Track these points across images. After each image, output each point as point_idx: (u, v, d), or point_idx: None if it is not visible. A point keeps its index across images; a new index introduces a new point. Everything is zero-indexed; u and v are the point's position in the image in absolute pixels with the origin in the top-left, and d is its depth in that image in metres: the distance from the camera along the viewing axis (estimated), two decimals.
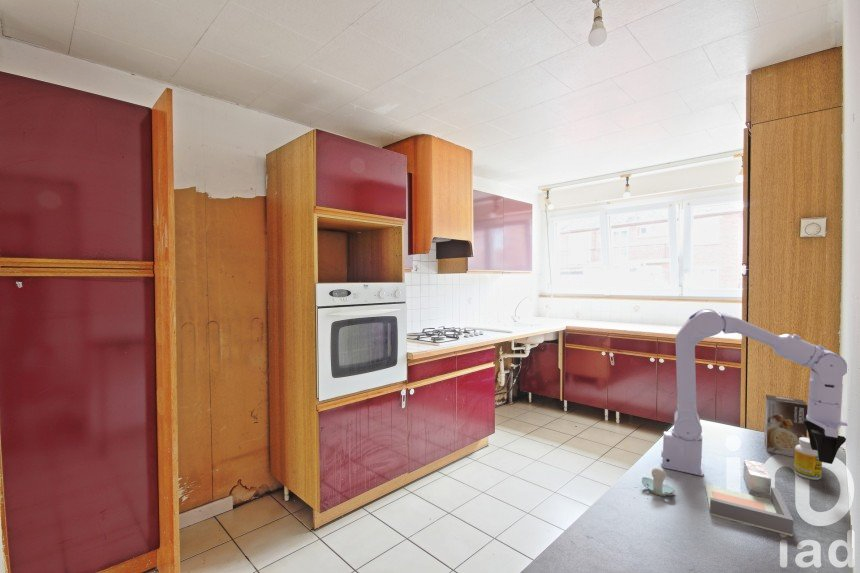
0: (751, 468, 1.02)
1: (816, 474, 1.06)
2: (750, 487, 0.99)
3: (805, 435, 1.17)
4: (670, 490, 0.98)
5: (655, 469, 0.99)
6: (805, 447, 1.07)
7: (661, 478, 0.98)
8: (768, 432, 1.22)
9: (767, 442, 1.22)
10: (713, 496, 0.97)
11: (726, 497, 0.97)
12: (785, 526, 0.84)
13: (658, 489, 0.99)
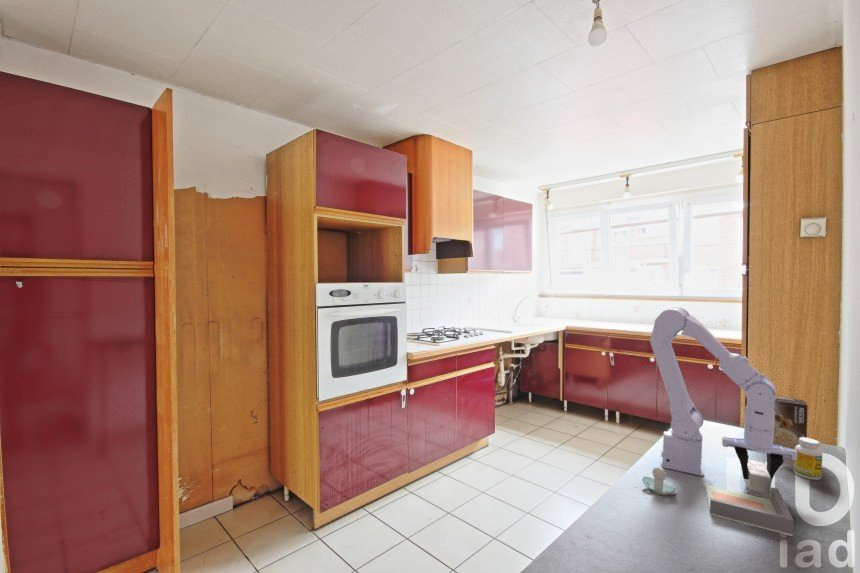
0: (751, 467, 1.02)
1: (816, 474, 1.06)
2: (750, 486, 0.99)
3: (805, 435, 1.17)
4: (671, 489, 0.98)
5: (656, 468, 0.99)
6: (805, 447, 1.07)
7: (662, 477, 0.98)
8: None
9: None
10: (713, 496, 0.97)
11: (726, 497, 0.97)
12: (785, 526, 0.84)
13: (659, 488, 0.99)
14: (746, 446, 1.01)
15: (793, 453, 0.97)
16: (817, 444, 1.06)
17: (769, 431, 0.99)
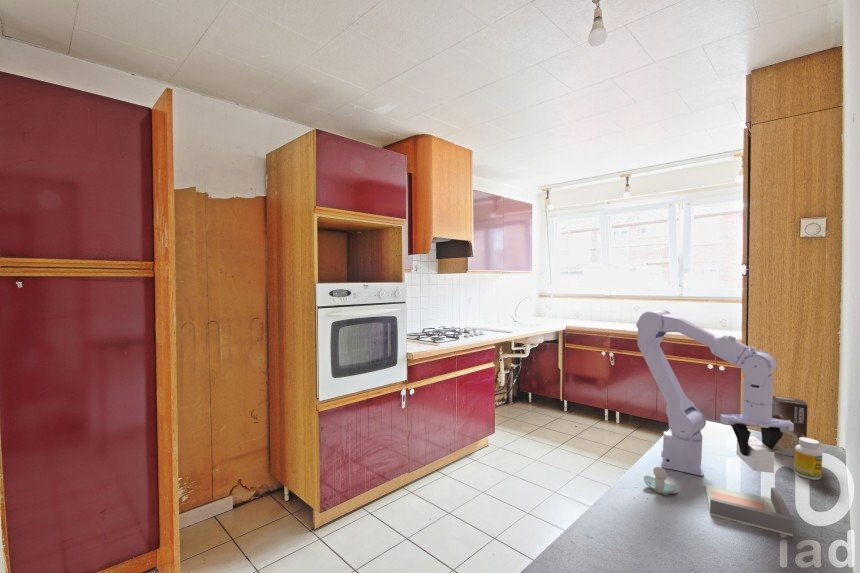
0: (750, 443, 1.00)
1: (816, 474, 1.06)
2: (754, 463, 0.96)
3: (805, 435, 1.17)
4: (672, 488, 0.98)
5: (657, 468, 1.00)
6: (805, 447, 1.07)
7: (663, 476, 0.99)
8: None
9: None
10: (713, 496, 0.97)
11: (726, 497, 0.97)
12: (785, 526, 0.84)
13: (660, 487, 0.99)
14: (748, 422, 0.98)
15: (790, 424, 0.97)
16: (817, 444, 1.06)
17: (770, 404, 0.97)
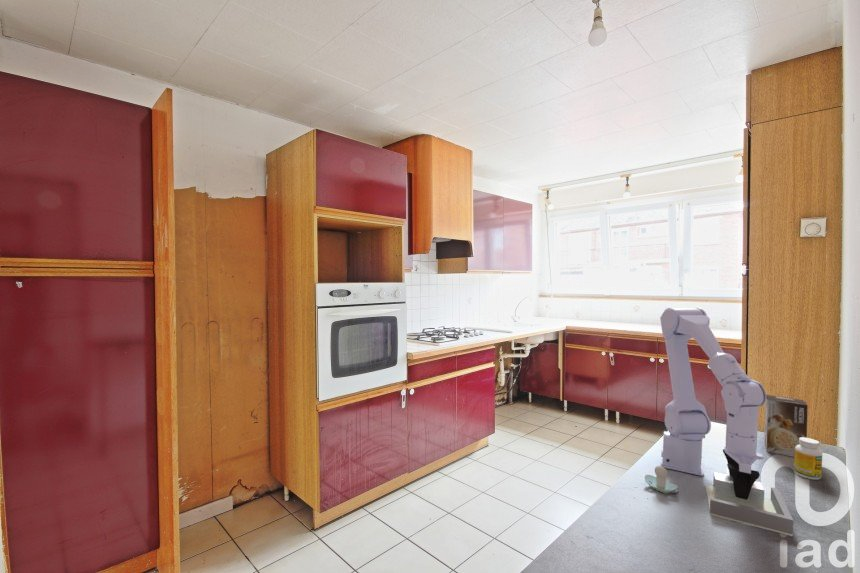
0: None
1: (816, 474, 1.06)
2: (763, 503, 0.91)
3: (805, 435, 1.17)
4: (673, 487, 0.99)
5: (658, 467, 1.00)
6: (805, 447, 1.07)
7: (664, 475, 0.99)
8: (768, 432, 1.22)
9: (767, 442, 1.22)
10: (713, 496, 0.97)
11: None
12: (785, 526, 0.84)
13: (661, 486, 1.00)
14: (754, 459, 0.91)
15: None
16: (817, 444, 1.06)
17: None
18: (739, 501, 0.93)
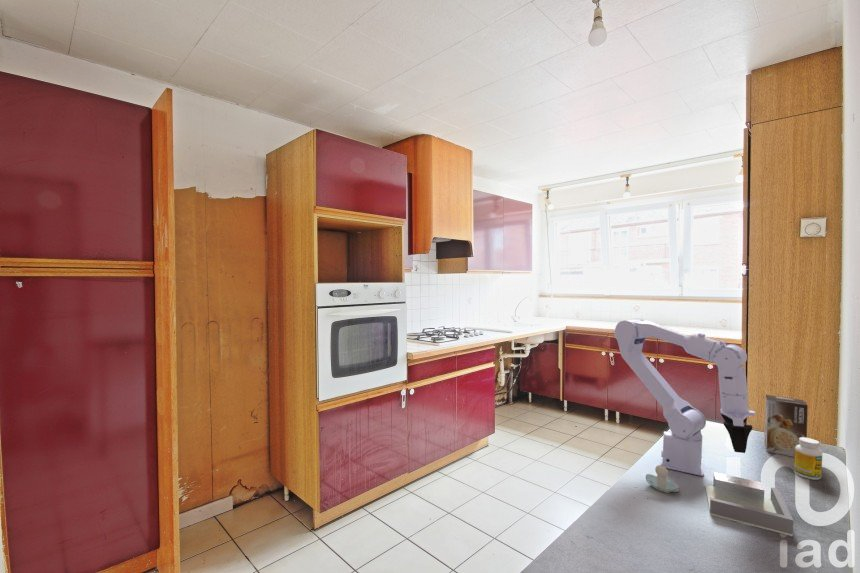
0: (742, 483, 0.93)
1: (816, 474, 1.06)
2: (763, 503, 0.91)
3: (805, 435, 1.17)
4: (674, 487, 0.99)
5: (659, 466, 1.00)
6: (805, 447, 1.07)
7: (665, 475, 0.99)
8: (768, 432, 1.22)
9: (767, 442, 1.22)
10: (713, 496, 0.97)
11: None
12: (785, 526, 0.84)
13: (662, 486, 1.00)
14: (747, 415, 1.00)
15: None
16: (817, 444, 1.06)
17: None
18: (739, 501, 0.93)
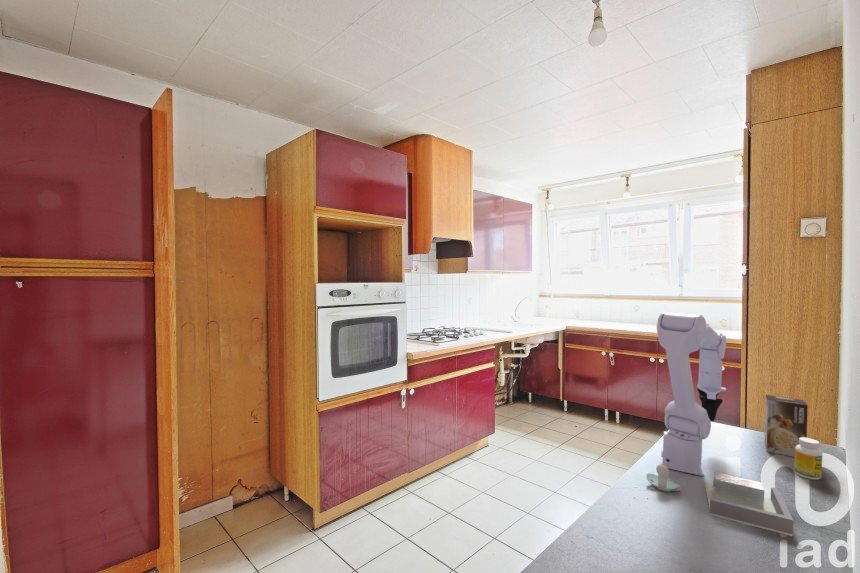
0: (742, 483, 0.93)
1: (816, 474, 1.06)
2: (763, 503, 0.91)
3: (805, 435, 1.17)
4: (674, 486, 0.99)
5: (660, 465, 1.01)
6: (805, 447, 1.07)
7: (666, 474, 1.00)
8: (768, 432, 1.22)
9: (767, 442, 1.22)
10: (713, 496, 0.97)
11: None
12: (785, 526, 0.84)
13: (663, 485, 1.01)
14: (719, 390, 1.19)
15: None
16: (817, 444, 1.06)
17: None
18: (739, 501, 0.93)
